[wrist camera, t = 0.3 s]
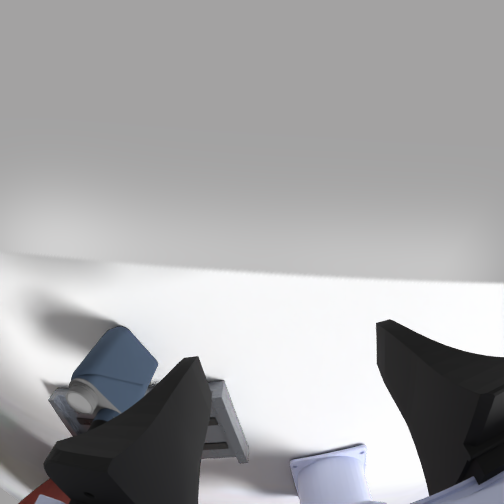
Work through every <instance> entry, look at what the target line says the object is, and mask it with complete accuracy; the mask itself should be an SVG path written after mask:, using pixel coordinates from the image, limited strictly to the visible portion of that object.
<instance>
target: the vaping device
mask: <svg viewBox="0 0 504 504" xmlns="http://www.w3.org/2000/svg"><path fill="white" fill-rule="evenodd" d="M157 366H158V362H157V361H156V359H155V358H154V357H153V356H152V355H151V354H150V353H149V352H148V351H147V349H146V348H145V347H144V346H143V345H142V344H141V343H140V342H139V341H138V339H137V338H136V337H135V336H134V335H133V334H132V333H131V331H130V330H128V329H127V328H125V327H115V328H112V329H110V330H108V331H107V332H106V333H105V334H104V335H103V336H102V338H101V339H100V340H99V341H98V343H97V344H96V345H95V346H94V347H93V349H92V350H91V351H90V352H89V354H88V355H87V356H86V357H85V359H84V360H83V361H82V362H81V364H80V365H79V366H78V367H77V369H76V370H75V371H74V372H73V375H72V378H71V382H70V384H69V390H68V392H67V393H66V400H67V402H68V404H69V405H70V406H71V407H72V408H73V409H74V410H75V411H77V412H78V413H80V414H83V415H91V414H92V415H93V416H94V417H95V418H94V420H93V422H92V423H91V425H90V427H89V429H88V430H87V431H89V430H92V429H94V428H96V427H98V426H100V425H102V424H104V423H106V422H108V421H109V420H111V419H113V418H115V417H116V416H118V415H120V414H121V413H123V412H124V411H126V410H127V409H129V408H130V407H131V406H133V405H134V404H135V403H137V402H138V401H139V400H140V399H142V398H143V397H144V395H145V392H146V390H147V388H148V386H149V384H150V381H151V379H152V377H153V375H154V373H155V371H156V368H157Z"/></svg>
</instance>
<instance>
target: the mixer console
mask: <svg viewBox="0 0 504 504" xmlns="http://www.w3.org/2000/svg"><path fill="white" fill-rule="evenodd" d="M208 385H209V388H210V390H211V393H212V400H211V415H210V420H209V424H208V429H207V434H206V438H205V443H204V447H203V452H202V457H201V459H205V458H225V457H237V459H238V461H239V463H248V450H249V446H248V444H247V441H246V439H245V436H244V433H243V431H242V428H241V426H240V423H239V420H238V417H237V415H236V412H235V409H234V407H233V404H232V401H231V398H230V395H229V393H228V390H227V387H226V384H225V381H224V380H223V381H215V382H208ZM153 388H154V387H148V388H147V390H146V392H145V395H146V394H147V393H148V392H149V391H151V390H152V389H153ZM68 390H69V388H57V389H56V390H55V392H54V393H53V394H52V396H51V397H50V398H49V399H48V400H49V402H50V403H51V405H52V407H53V408H54V410H55V411H56V413H57V414H58V416H59V417H60V419H61V420H62V422H63V423H64V425H65V426H66V427H67V429H68V430H69V432H70V433H71V434H72V436H77V435H79V434H82V433H85V432H87V430H88V429H89V427H90V425H91V423H92V422H93V420H94V418H95V417H94V416H93V415H92V414H91V415H83V414H80V413H78V412H77V411H75V410H74V409H73V408H72V407H71V406H70V405H69V404H68V402H67V400H66V393H67V392H68ZM145 395H144V396H145Z"/></svg>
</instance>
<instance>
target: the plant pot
mask: <svg viewBox="0 0 504 504" xmlns="http://www.w3.org/2000/svg"><path fill="white" fill-rule="evenodd" d="M39 495H45V496H48V497H50V498H53V499H56V500H59V501H62V502H64V503H65V504H69V502H70V500H71V499H70V498H69V497H68V496H67V495H66V494H65V493H64V492H63V491H62V490H61V489H60V488H59V487H58V486H57V485H56V484H55V483H54V482H53V481H52V480H51V479H49V480H47V481H46V482H44V483H43V484H42V485H40V486H39V487H38V488H36V489H35V490H34V491H33V492H31V493H30V494H29V495H28V496H26V497H25V498H24V499H23V500H22V501H21V502H20V503H19V504H35V502H36V500H37V499H38V497H39Z"/></svg>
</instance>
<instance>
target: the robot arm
mask: <svg viewBox="0 0 504 504" xmlns="http://www.w3.org/2000/svg"><path fill="white" fill-rule="evenodd" d="M376 335H377V365H378V368H379V371H380V373H381V376H382V378H383V381H384V383H385V385H386V387H387V389H388V390H389V392H390V394H391V396H392V398H393V399H394V401H395V403H396V405H397V407H398V408H399V410H400V412H401V414H402V416H403V418H404V419H405V421H406V423H407V426H408V428H409V430H410V433H411V436H412V438H413V441H414V444H415V446H416V449H417V452H418V456H419V459H420V462H421V465H422V469H423V472H424V476H425V479H426V483H427V487H428V492H429V497H426V498H424V499H421V500H419V501H416V502H413V503H410V504H504V357H493V356H485V355H480V354H474V353H470V352H465V351H462V350H458V349H455V348H452V347H449V346H446V345H443V344H441V343H438V342H436V341H433V340H431V339H429V338H427V337H425V336H422V335H420V334H418V333H416V332H414V331H412V330H410V329H408V328H407V327H405V326H403V325H401V324H399V323H397V322H395V321H393V320H386V321H382V322H378V323H376ZM211 400H212V393H211V390H210V388H209V385H208V382H207V380H206V377H205V374H204V371H203V369H202V366H201V363H200V360H199V357H198V356H196V357H188V358H184V359H182V360H181V361H180V362H179V363H178V364H177V365H176V366H175V367H174V368H173V369H172V370H171V371H170V372H169V373H168V374H167V375H166V376H165V377H164V378H163V379H162V380H161V381H160V382H159V383H158V384H157V385H156V386H155V387H154V388H153V389H152V390H151V391H149V392H148V393H147V394H146V395H145V396H144V397H143V398H142V399H140V400H139V401H138V402H137V403H135V404H134V405H133V406H131V407H130V408H129V409H127V410H126V411H124V412H123V413H121V414H120V415H118V416H116V417H115V418H113V419H111V420H109V421H108V422H106V423H104V424H102V425H100V426H98V427H96V428H94V429H92V430H89V431H87V432H85V433H82V434H79V435H77V436H73V437H70V438H67V439H64V440H60V441H57V442H56V444H55V446H54V447H53V449H52V451H51V452H50V454H49V456H48V457H47V459H46V461H45V462H44V469H45V471H46V473H47V475H48V476H49V477H50V479H51V480H52V481H53V482H54V483H55V484H56V485H57V486H58V487H59V488H60V489H61V490H62V491H63V492H64V493H65V494H66V495H67V496H68V497H69V498H70V499H71V500H70V502H69V504H198V490H199V474H200V463H201V457H202V452H203V447H204V443H205V438H206V434H207V429H208V424H209V420H210V415H211ZM366 455H367V447H366V445H360V446H356V447H352V448H348V449H344V450H340V451H335V452H331V453H326V454H321V455H316V456H311V457H305V458H299V459H293V460H291V461H290V467H291V471H292V475H293V479H294V482H295V486H296V490H297V493H298V497H299V499H300V504H387V503H384V502H378V501H372V498H371V494H370V490H369V487H368V483H367V480H366V476H365V469H366ZM35 504H65V503H64V502H62V501H59V500H56V499H53V498H50V497H48V496H45V495H39V497H38V499H37V500H36V502H35Z"/></svg>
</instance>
